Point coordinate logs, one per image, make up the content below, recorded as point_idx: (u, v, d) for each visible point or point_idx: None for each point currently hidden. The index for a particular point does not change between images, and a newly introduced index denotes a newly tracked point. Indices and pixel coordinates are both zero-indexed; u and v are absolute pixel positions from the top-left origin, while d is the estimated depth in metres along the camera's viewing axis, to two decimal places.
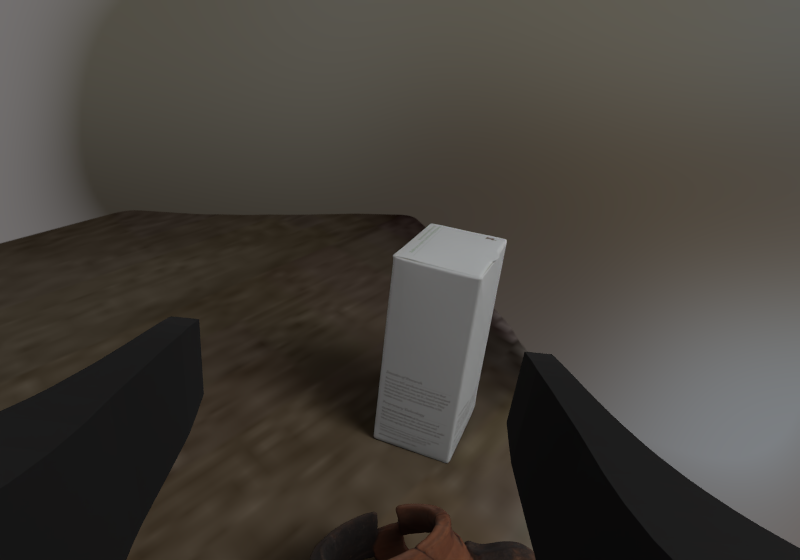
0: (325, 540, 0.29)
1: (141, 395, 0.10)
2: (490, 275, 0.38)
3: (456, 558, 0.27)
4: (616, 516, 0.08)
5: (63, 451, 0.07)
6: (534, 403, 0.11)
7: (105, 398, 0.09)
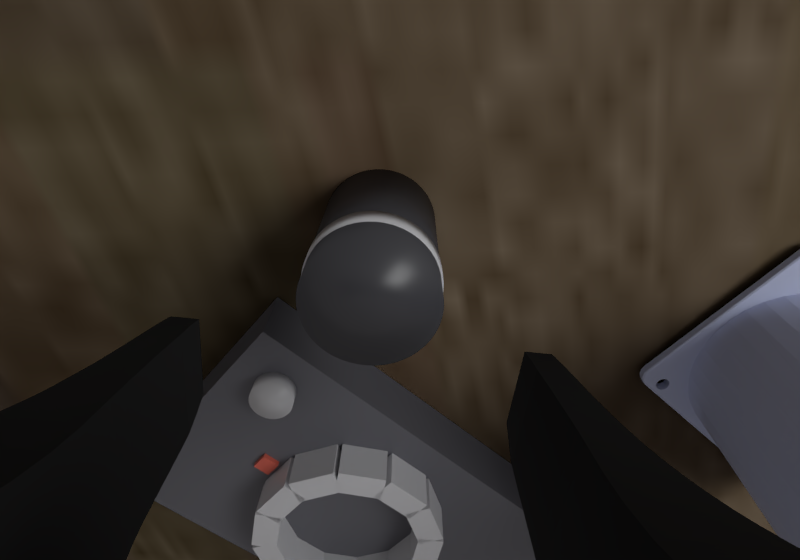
0: None
1: (141, 395, 0.10)
2: None
3: None
4: (615, 515, 0.08)
5: (63, 451, 0.07)
6: (534, 403, 0.11)
7: (105, 398, 0.09)
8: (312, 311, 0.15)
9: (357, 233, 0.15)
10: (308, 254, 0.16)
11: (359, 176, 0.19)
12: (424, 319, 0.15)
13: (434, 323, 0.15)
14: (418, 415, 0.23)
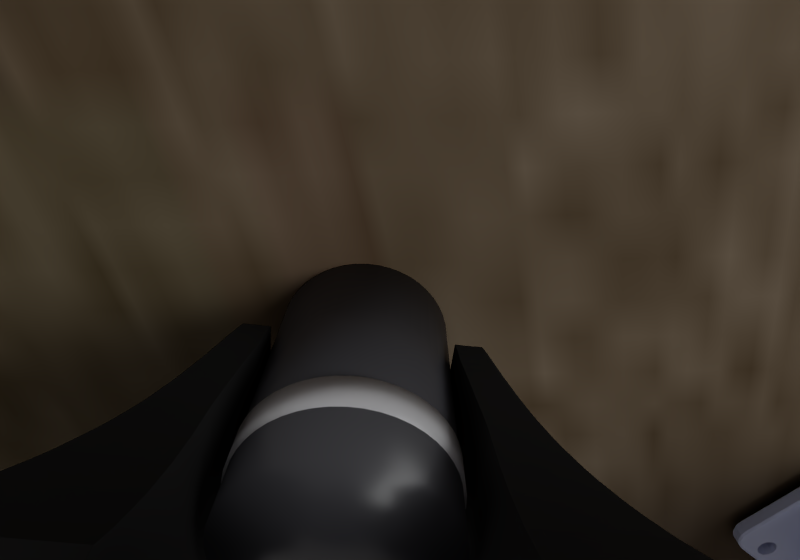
0: None
1: (230, 403, 0.10)
2: None
3: None
4: (504, 506, 0.08)
5: (179, 461, 0.07)
6: (458, 396, 0.11)
7: (205, 407, 0.09)
8: None
9: (310, 444, 0.08)
10: (231, 453, 0.09)
11: (331, 277, 0.13)
12: None
13: None
14: None
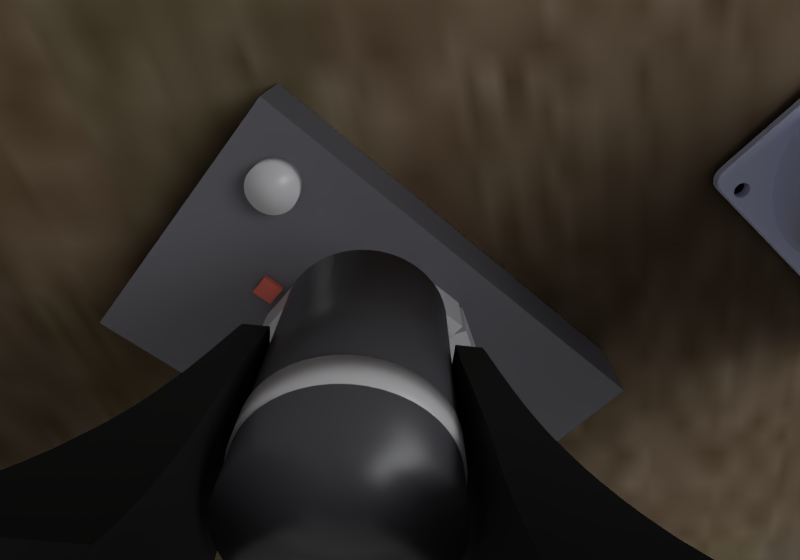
0: None
1: (229, 403, 0.10)
2: None
3: None
4: (504, 506, 0.08)
5: (178, 461, 0.07)
6: (459, 396, 0.11)
7: (204, 407, 0.09)
8: (238, 539, 0.09)
9: (314, 419, 0.08)
10: (235, 431, 0.09)
11: (333, 262, 0.13)
12: (435, 551, 0.09)
13: (453, 558, 0.09)
14: (448, 234, 0.19)
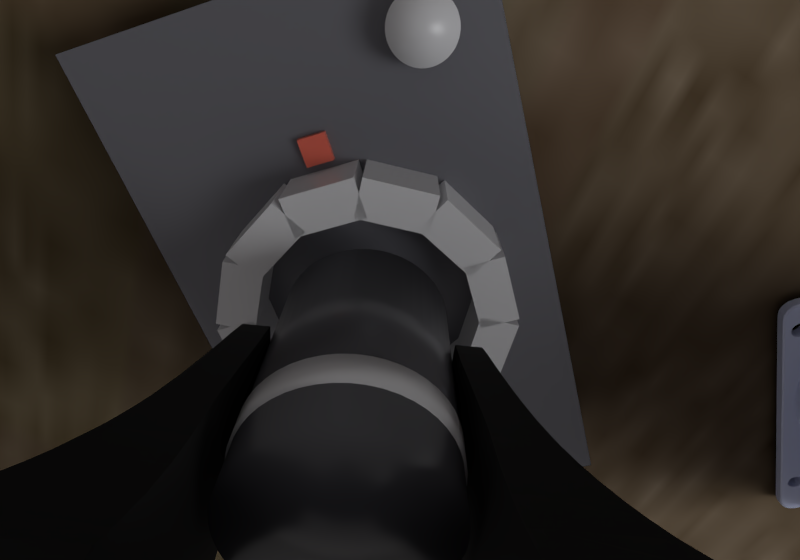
0: None
1: (229, 403, 0.10)
2: None
3: None
4: (505, 506, 0.08)
5: (178, 461, 0.07)
6: (458, 396, 0.11)
7: (205, 407, 0.09)
8: (238, 539, 0.09)
9: (313, 418, 0.08)
10: (235, 430, 0.09)
11: (333, 262, 0.13)
12: (435, 551, 0.09)
13: (453, 558, 0.09)
14: None
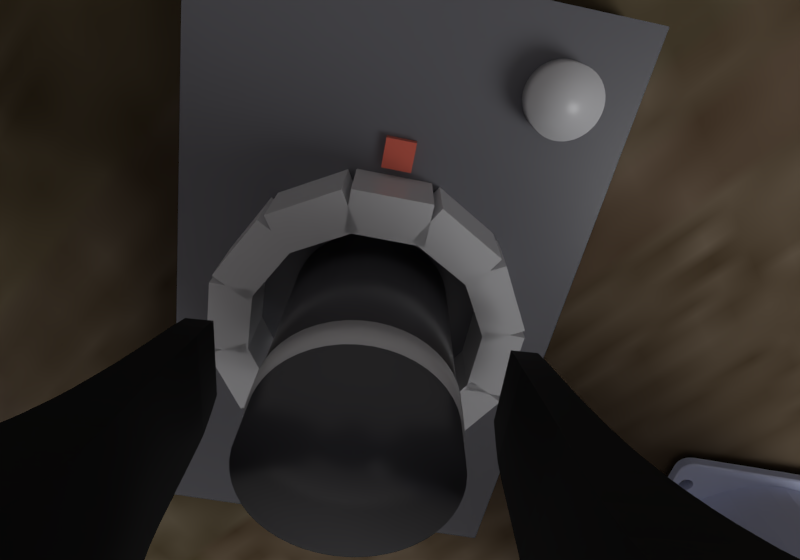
0: None
1: (159, 397, 0.10)
2: None
3: None
4: (594, 515, 0.08)
5: (86, 453, 0.07)
6: (519, 402, 0.11)
7: (125, 400, 0.09)
8: (256, 486, 0.10)
9: (326, 373, 0.09)
10: (252, 389, 0.10)
11: (340, 243, 0.14)
12: (435, 497, 0.10)
13: (451, 504, 0.10)
14: None
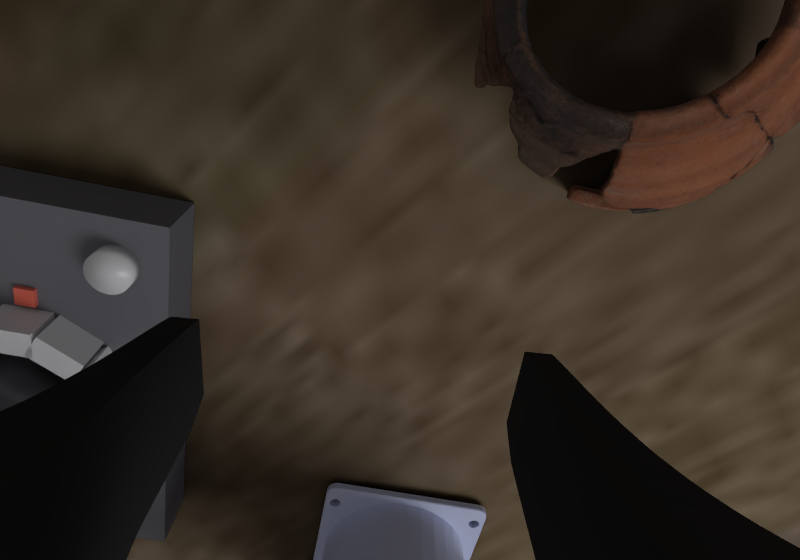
0: None
1: (141, 395, 0.10)
2: None
3: (785, 86, 0.13)
4: (615, 515, 0.08)
5: (63, 451, 0.07)
6: (534, 403, 0.11)
7: (105, 398, 0.09)
8: None
9: None
10: None
11: None
12: None
13: None
14: None
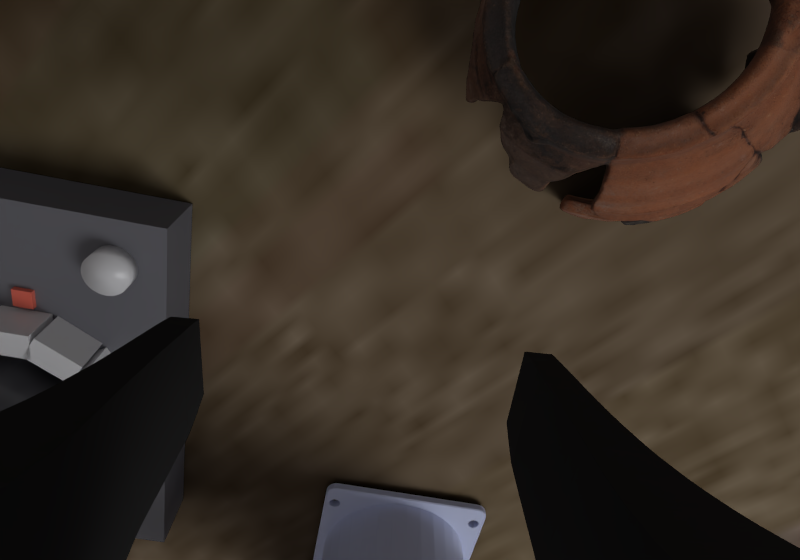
0: None
1: (141, 395, 0.10)
2: None
3: (771, 101, 0.14)
4: (616, 516, 0.08)
5: (63, 451, 0.07)
6: (534, 403, 0.11)
7: (105, 398, 0.09)
8: None
9: None
10: None
11: None
12: None
13: None
14: None
